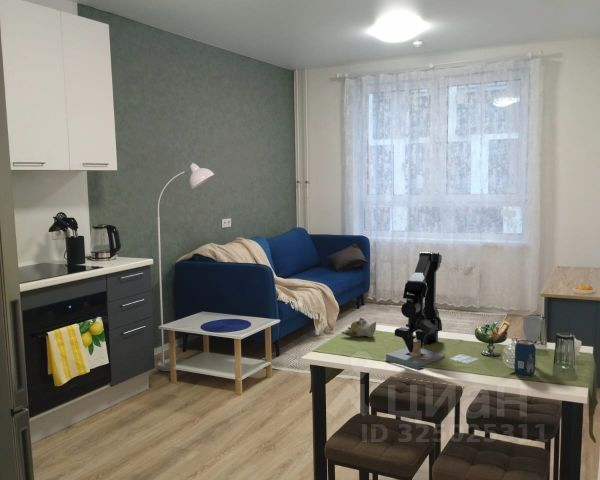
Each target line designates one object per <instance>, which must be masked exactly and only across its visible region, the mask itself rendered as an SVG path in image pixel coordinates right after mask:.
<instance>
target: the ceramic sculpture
mask: <svg viewBox="0 0 600 480" xmlns="http://www.w3.org/2000/svg"><path fill="white" fill-rule="evenodd" d="M376 328H377V321H374V322H373V321H372V322H367V320H366V319H364V318H362V317H360V318H359V320H357V319H356V320H354V321H352V322H351V324H350V326H348V327H347V329H348V330H346V331H343V332H341V334H342V335H345V336H348V337H354V336H355V337H361V338H362V337H365V336H367V337H368V338H373V337H374V335H375V332H376V330H377V329H376Z"/></svg>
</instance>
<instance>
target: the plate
mask: <svg viewBox="0 0 600 480" xmlns="http://www.w3.org/2000/svg"><path fill="white" fill-rule="evenodd" d="M449 360H452V361H456V362H460V363H463V364H466V365H467V364H469V363H472V362H476V361H477V360H479V358H477V357H473V356H470V355H466V354H464V353H463V354H462V353H460V354H457V355H455V356H452V357H449Z"/></svg>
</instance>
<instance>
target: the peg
mask: <svg viewBox="0 0 600 480" xmlns="http://www.w3.org/2000/svg"><path fill="white" fill-rule="evenodd" d="M409 356H412V357H415V358H418V357H421V341H420V340H417V339H416V338H415V339H414V340H413V350H412V353H411V352H410V355H409Z"/></svg>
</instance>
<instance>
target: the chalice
mask: <svg viewBox="0 0 600 480" xmlns="http://www.w3.org/2000/svg"><path fill="white" fill-rule="evenodd" d="M521 317H522V331H523V335H524V336H525V340H529V341H532V342H534V343H535V342H536V341H537V339H538V337H540V334H541V331H542V321H543V319H544V318H543V317H541V316H538V315H522V316H521ZM537 364H538V363H537V359H536V358H535V365H537ZM537 366H538V365H537Z"/></svg>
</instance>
